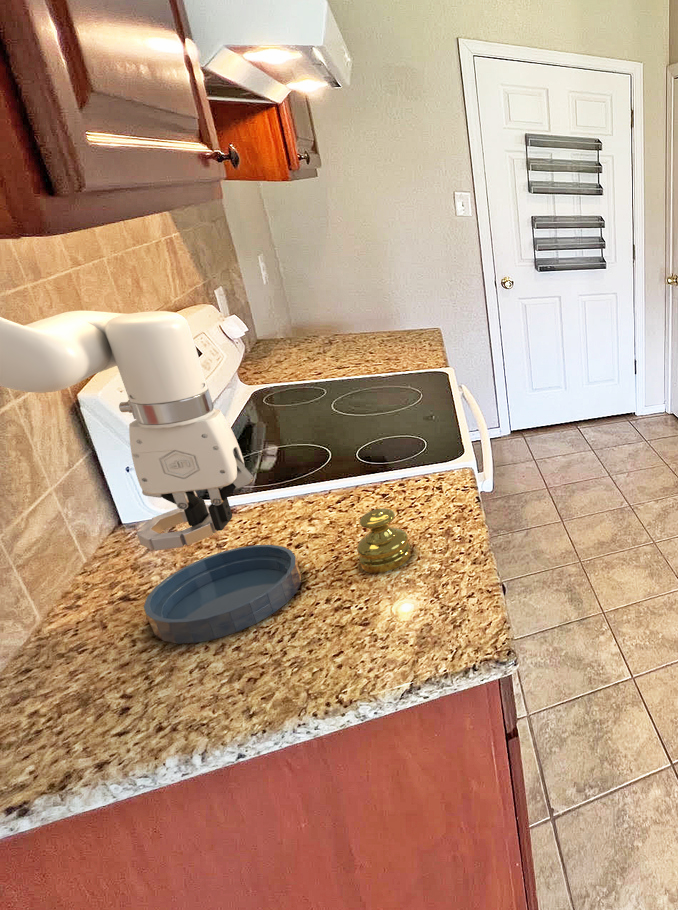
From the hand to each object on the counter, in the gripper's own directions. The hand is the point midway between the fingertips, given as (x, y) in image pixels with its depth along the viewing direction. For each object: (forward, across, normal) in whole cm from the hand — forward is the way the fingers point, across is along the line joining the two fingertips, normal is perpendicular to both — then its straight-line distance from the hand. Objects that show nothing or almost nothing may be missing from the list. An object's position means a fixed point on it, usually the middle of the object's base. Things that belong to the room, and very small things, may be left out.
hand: (213, 526), depth 81 cm
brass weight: (+14, +19, +4) cm, 24 cm away
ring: (0, -3, 0) cm, 3 cm away
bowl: (+14, -1, 0) cm, 14 cm away
